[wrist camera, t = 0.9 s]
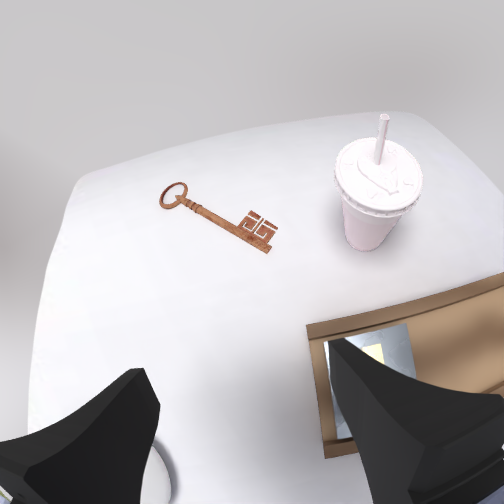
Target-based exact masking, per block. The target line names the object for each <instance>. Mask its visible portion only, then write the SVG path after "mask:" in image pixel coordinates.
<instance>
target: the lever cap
mask: <svg viewBox="0 0 504 504" xmlns="http://www.w3.org/2000/svg"><path fill="white" fill-rule="evenodd" d="M345 339H347V340H348V341H349V342H351V343H352V344H354V345H355V346H357V347H358V348H359V349H361V350H362V351H364V352H365V353H367V354H368V355H370V356H371V357H373V358H374V359H376V360H378V361H379V362H381V363H383V364H385V365H386V366H388V367H390V368H392V369H394V370H396V371H398V372H400V373H402V374H404V375H406V376H409V377H411V378H414V379H416V380H417V378H416V371H415V365H414V359H413V354H412V348H411V343H410V338H409V333H408V328H407V324H406V323H403V324H399V325H395V326H392V327H388V328H384V329H380V330H376V331H372V332H368V333H364V334H359V335H355V336H350V337H346V338H345ZM323 347H324V353H325V359H326V366H327V372H328V379H329V386H330V392H331V400H332V407H333V414H334V422H335V430H336V436H337V439H343V438H348V437H352V435H351V433H350V430H349V428H348V426H347V424H346V422H345V420H344V417H343V415H342V413H341V411H340V409H339V406H338V404H337V402H336V398H335V395H334V392H333V389H332V385H331V382H330V365H329V350H328V341H327V342H324V343H323Z"/></svg>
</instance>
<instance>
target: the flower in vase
mask: <svg viewBox="0 0 504 504" xmlns="http://www.w3.org/2000/svg"><path fill="white" fill-rule="evenodd" d="M0 495H1V496H3V497H4V498H6V499H7V500H9V499H8V498H7V497H5V496H4V494H3V493H2V492H1V491H0ZM170 498H171V483H170V478H169V474H168V471H167V468H166V466H165V464H164V462H163V460H162V458H161V457H160V455H159V454H158V452H157V451H156V450H155V448H154V447H153V446H152V447H151V450H150V453H149V457H148V460H147V463H146V467H145V471H144V475H143V482H142V489H141V499H140V504H169V501H170ZM9 501H10V500H9ZM10 502H11V501H10Z"/></svg>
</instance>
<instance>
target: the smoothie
mask: <svg viewBox="0 0 504 504" xmlns="http://www.w3.org/2000/svg"><path fill="white" fill-rule="evenodd" d="M388 124H389V116H388V115H387V114H381V115H380V121H379V128H378V135H377V138H362V139H358V140H355V141H353V142H351V143H349V144H347V145H346V146H345V147H344V148H343V149H342V150H341V151H340V152H339V154H338V156H337V158H336V162H335V169H334V181H335V184H336V187H337V190H338V192H339V193H340V195H341V201H342V209H343V217H344V226H345V235H346V239H347V241H348V243H349V244H350V245H351V246H352V247H353V248H355V249H357V250H359V251H371V250H374V249H376V248H377V247H378V246H379V245H380V244H381V242H382V241H383V240H384V238H385V237H386V236H387V235H388V233H389V232H390V231H391V229H392V228H393V227H394V226H395V224H396V223H397V222H398V220H399V219H400V218H401V216H402V215H403V214H404V213H406V212H408V211H410V210H411V209H412V208H413V207H414V206H415V205H416V204H417V201H418V199H419V197H420V195H421V191H422V187H423V174H422V170H421V168H420V166H419V164H418V162H417V160H416V159H415V158H414V156H413V155H412V154H411V153H410V152H409V151H407V150H406V149H405V148H403V147H402V146H400V145H399V144H397V143H395V142H392V141H389V140H386V135H387V129H388Z"/></svg>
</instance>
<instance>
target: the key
mask: <svg viewBox="0 0 504 504" xmlns="http://www.w3.org/2000/svg"><path fill="white" fill-rule="evenodd" d="M178 184H182V185H184V188H185V189H184V192H183V194H182V196H180V195H176V196H175V197H176V199H177V201H175V202H174V203H172V204H163V197H164V195H165V193H166V192H167V191H168V190H169V189H170V188H171V187H173V186H175V185H178ZM187 192H188V188H187V185H186V184H185V183H182V182H178V183H174V184H172V185H170V186H169V187H167V188H166V189H165V190H164V191H163V193H162V194H161V197H160V201H159V202H160V206H161V207H163V208H166V209H169V208H173V207H175V206H177V205H178V204H180V203H182V204H184V205H185V206H186V207H189V208H190V209H191V210H192V209H193V211H194V212H195V213H198V214H200V215H202V216H203V217H205V218H207V219H208V220H210V221H212V222H214V223H215V224H217V225H219V226H220V227H222V228H224V229H225V230H227V231H229V232H231V233H232V234H234V235H236V236H237V237H239V238H241V239H242V240H244V241H246V242H247V243H249V244H251V245H253V246H254V247H256V248H258V249H259V250H261V251H263V252H264V253H266V254H267V253H268V252H269V251H270V249H271V248H272V246H270V245H268V244H267V243H268V242H269V240H270V239H271V237H272V236H273V235H274V233H275V231H273V230H271V229H270V228H268V227H266V226H264V225H261V227H260V228H259V229H258V230H257V232H256V233H257V234H259V235H261V236H264V234H265V233H267V235H266V236H265V237H264V239H262V238H261V237H259V236H257V235H255V234H254V232H255V230H256V229H257V228H258V226H259V225H260V224H261V222H262V221H263V220H264V218H262V220H261V221H260V222H259V223H258V224H257V226H256V227H255V228H254V229H253V231H252V232H250V231H249V230H247V229H245V228H243V227H242V226H243V225H244V223H245V222H247V223H246V224H245V225H244V226H245V227H247V228H248V229H250V230H252V228H253V227H254V226H255V224H256V223H257V221H255V220H253V219H251V218H250V217H248V216H246V217H245V218H244V219H243V220H242V221H241V223H240V224H239V225H238V226H235V225H233V224H232V223H230V222H228V221H226V220H225V219H223V218H221V217H219V216H218V215H216V214H214V213H212V212H210V211H209V210H207V209H205V208H203V207H202V205H199V204H196V203H195V202H192V201H191V200H189V199H186V198H185V197H186V195H187ZM248 215H250V216H252V217H254V218H255V219H257V220H259V219H260V217H261V216H259V215H258V214H256V213H255V212H253V211H252V210H251V211H250V212H249V213H248ZM264 223H265V224H267V225H268V226H270V227H272V228H274V229H276V230H277V229H278V228H277V227H276V226H274V225H273V224H271V223H270V222H268V221H267V220H265V222H264Z"/></svg>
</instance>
